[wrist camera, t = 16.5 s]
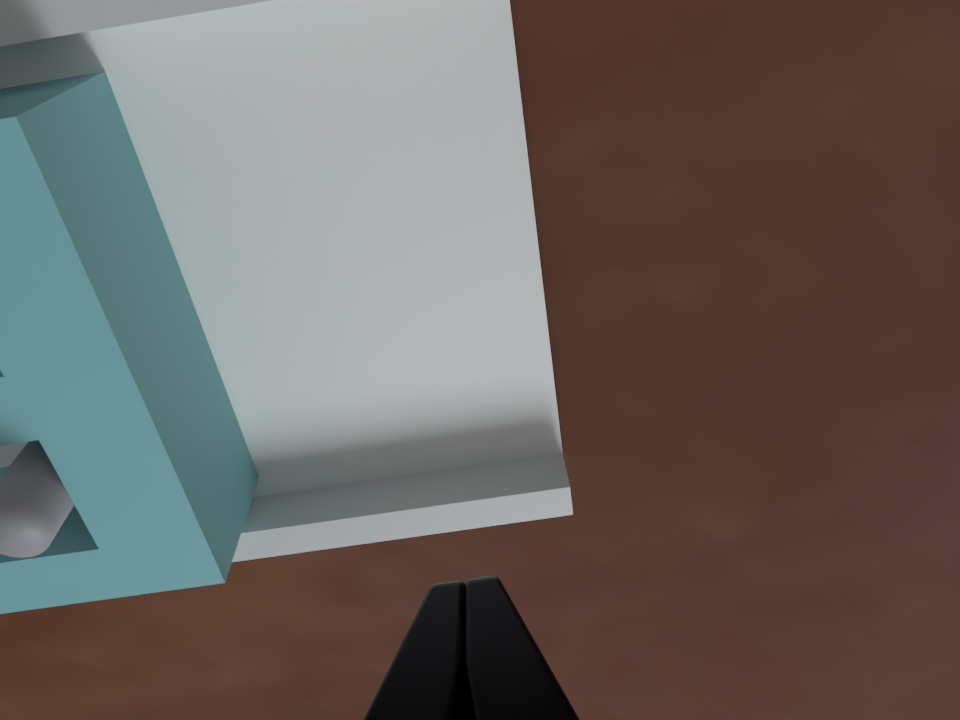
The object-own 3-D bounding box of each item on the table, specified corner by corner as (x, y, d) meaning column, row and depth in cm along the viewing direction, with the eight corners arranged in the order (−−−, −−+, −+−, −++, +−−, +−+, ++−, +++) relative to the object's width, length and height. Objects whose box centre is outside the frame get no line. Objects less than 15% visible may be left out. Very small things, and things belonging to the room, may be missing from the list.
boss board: (493, -103, 16) (519, -103, 11) (560, 454, 24) (594, 614, 18) (-235, 24, 17) (-550, 81, 11) (56, 526, 24) (-53, 701, 19)
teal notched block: (105, 71, 16) (16, 116, 13) (258, 476, 22) (225, 582, 19) (-209, 123, 17) (-378, 181, 13) (23, 510, 22) (-53, 621, 19)
